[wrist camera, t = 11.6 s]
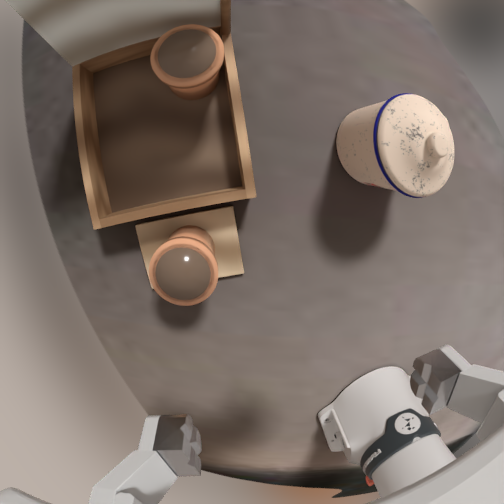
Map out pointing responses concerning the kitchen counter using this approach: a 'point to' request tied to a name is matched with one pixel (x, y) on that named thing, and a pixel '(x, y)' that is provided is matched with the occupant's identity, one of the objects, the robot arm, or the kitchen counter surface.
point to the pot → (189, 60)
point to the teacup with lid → (398, 145)
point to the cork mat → (212, 221)
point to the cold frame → (146, 108)
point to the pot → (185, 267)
